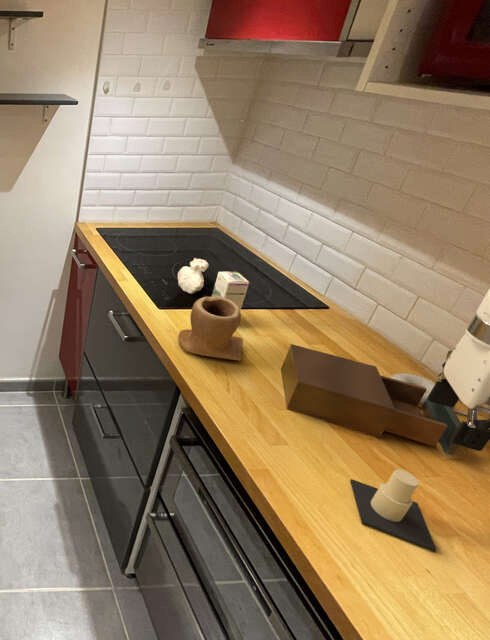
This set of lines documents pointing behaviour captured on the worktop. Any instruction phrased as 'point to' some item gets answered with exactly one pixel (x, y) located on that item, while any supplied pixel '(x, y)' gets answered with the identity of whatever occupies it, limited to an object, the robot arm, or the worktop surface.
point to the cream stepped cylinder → (395, 496)
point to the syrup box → (231, 287)
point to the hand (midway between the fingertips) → (451, 423)
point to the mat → (406, 529)
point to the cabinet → (336, 390)
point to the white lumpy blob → (192, 276)
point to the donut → (416, 383)
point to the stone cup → (213, 329)
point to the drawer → (412, 424)
